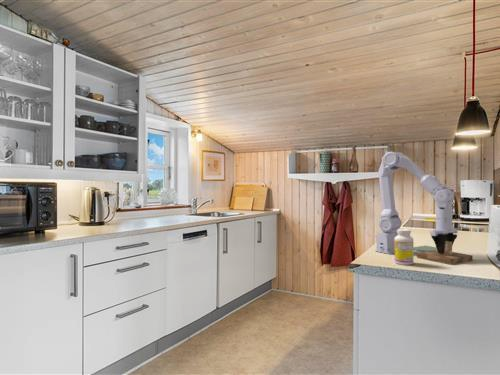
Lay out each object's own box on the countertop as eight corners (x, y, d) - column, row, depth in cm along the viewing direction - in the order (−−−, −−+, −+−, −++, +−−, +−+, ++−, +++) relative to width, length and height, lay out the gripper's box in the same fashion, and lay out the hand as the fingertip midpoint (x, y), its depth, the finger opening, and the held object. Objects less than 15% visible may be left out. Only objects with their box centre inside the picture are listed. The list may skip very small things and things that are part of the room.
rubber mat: (432, 253, 151) (432, 252, 151) (408, 249, 162) (408, 247, 162) (449, 250, 157) (449, 249, 157) (425, 246, 167) (425, 245, 167)
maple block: (445, 260, 138) (445, 242, 138) (436, 258, 141) (436, 241, 141) (452, 259, 140) (452, 241, 139) (442, 257, 143) (442, 240, 143)
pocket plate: (450, 264, 131) (450, 259, 131) (417, 257, 143) (417, 252, 143) (472, 260, 137) (472, 255, 137) (438, 254, 150) (438, 249, 150)
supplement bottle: (397, 260, 138) (397, 228, 138) (415, 263, 134) (415, 229, 134) (392, 263, 133) (392, 230, 133) (410, 266, 129) (410, 231, 129)
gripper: (442, 220, 133) (442, 256, 133) (465, 218, 140) (465, 252, 140) (425, 218, 139) (425, 253, 140) (447, 216, 146) (447, 249, 146)
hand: (444, 252), depth 140 cm, fingers closed on maple block, 4 cm apart
